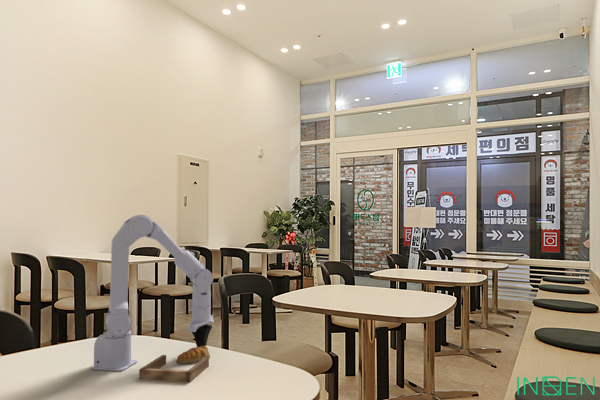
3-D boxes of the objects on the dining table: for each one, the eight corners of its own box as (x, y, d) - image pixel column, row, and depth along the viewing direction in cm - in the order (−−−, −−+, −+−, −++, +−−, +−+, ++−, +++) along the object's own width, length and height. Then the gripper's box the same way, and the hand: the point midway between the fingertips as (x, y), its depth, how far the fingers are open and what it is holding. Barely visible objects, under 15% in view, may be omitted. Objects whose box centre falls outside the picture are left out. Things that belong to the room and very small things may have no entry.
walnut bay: (139, 379, 110) (139, 369, 111) (162, 363, 122) (162, 354, 123) (190, 382, 108) (190, 372, 108) (208, 366, 120) (208, 357, 120)
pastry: (183, 367, 120) (183, 354, 120) (172, 362, 125) (172, 349, 125) (212, 360, 126) (212, 347, 126) (201, 355, 131) (201, 342, 131)
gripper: (204, 311, 125) (204, 357, 125) (221, 301, 140) (221, 343, 139) (182, 310, 127) (182, 356, 126) (201, 301, 141) (201, 342, 140)
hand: (201, 349), depth 133 cm, fingers closed
